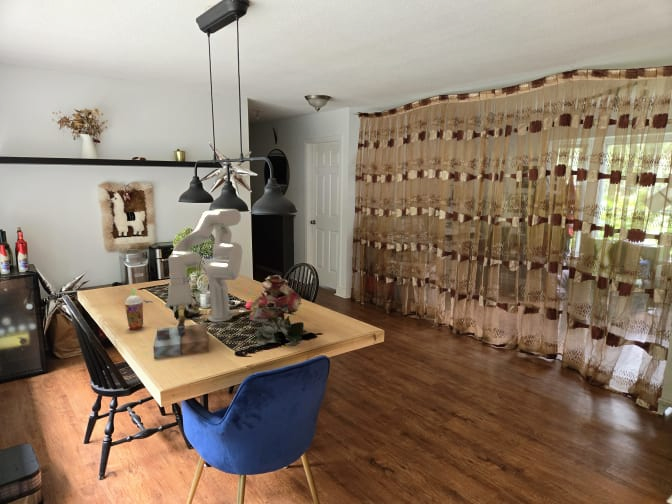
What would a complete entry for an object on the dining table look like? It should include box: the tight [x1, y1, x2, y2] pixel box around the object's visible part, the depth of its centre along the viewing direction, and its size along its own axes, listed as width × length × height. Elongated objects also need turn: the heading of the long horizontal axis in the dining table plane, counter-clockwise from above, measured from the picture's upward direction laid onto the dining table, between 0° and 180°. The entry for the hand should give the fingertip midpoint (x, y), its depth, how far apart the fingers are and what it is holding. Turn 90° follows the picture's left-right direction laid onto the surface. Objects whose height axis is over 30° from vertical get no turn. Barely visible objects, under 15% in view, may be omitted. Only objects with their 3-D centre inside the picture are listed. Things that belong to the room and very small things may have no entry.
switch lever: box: [176, 307, 187, 329], centre depth 194 cm, size 11×4×7 cm, turn 17°
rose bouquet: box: [248, 274, 305, 347], centre depth 200 cm, size 26×29×30 cm
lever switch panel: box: [152, 323, 209, 359], centre depth 191 cm, size 22×24×9 cm
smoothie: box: [124, 289, 144, 330], centre depth 214 cm, size 8×8×20 cm
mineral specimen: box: [176, 301, 201, 318], centre depth 234 cm, size 14×13×10 cm
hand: (181, 318), depth 198 cm, fingers closed on switch lever, 3 cm apart
